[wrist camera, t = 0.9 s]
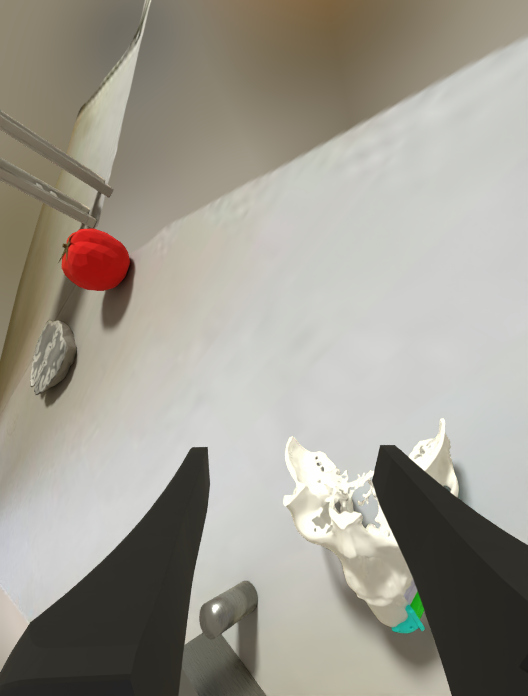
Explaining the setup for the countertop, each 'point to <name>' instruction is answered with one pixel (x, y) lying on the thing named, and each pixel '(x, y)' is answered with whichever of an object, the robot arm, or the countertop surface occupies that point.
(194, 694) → the housing bracket
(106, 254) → the tomato
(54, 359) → the brain slice
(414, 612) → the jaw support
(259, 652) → the countertop surface
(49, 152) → the stool
